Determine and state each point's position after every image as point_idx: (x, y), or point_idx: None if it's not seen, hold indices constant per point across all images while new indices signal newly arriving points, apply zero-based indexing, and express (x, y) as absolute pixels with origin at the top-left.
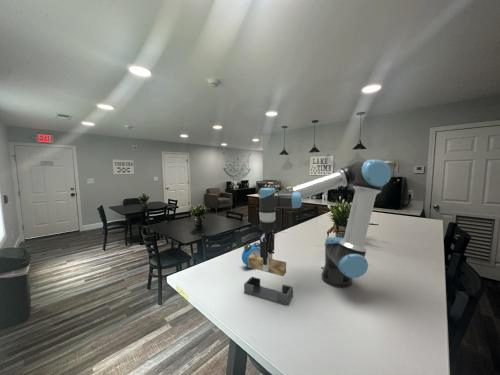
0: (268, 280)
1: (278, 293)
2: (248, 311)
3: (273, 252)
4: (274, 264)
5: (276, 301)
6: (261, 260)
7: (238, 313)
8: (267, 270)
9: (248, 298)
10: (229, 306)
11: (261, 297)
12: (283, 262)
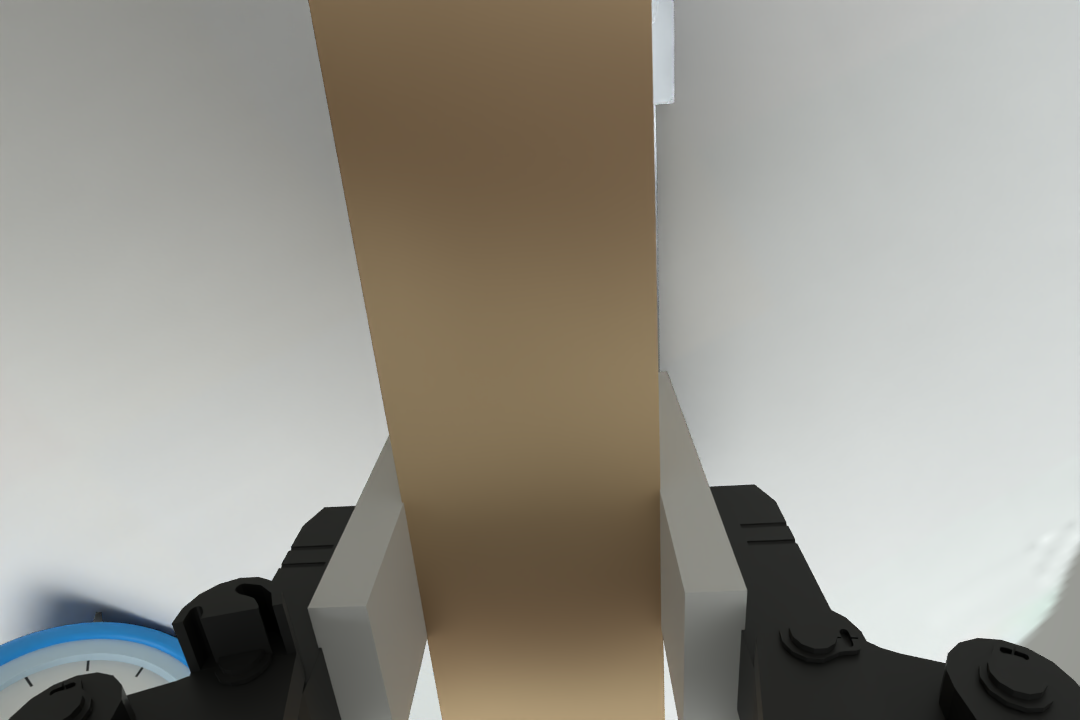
0: (283, 399)
1: (673, 77)
2: (926, 309)
3: (244, 625)
4: (653, 296)
5: (655, 107)
6: (660, 669)
7: (988, 375)
8: (672, 394)
9: (724, 415)
10: (917, 496)
11: (657, 305)
12: (400, 63)
